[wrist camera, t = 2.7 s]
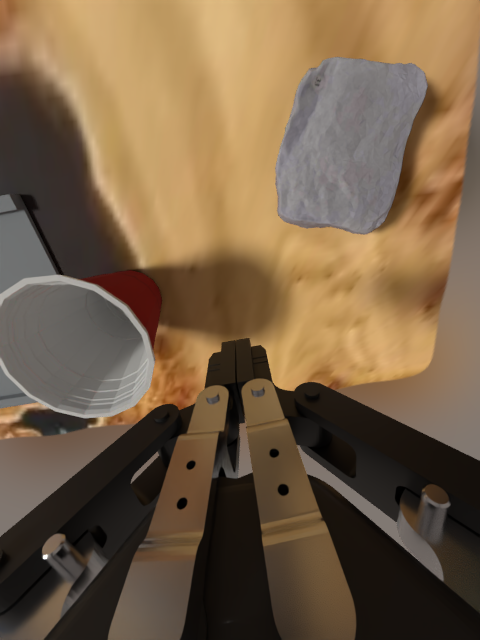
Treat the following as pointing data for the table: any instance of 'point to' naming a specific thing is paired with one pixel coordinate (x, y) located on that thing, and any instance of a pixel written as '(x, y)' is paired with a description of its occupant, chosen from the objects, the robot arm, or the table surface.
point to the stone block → (347, 143)
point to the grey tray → (19, 269)
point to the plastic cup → (81, 340)
